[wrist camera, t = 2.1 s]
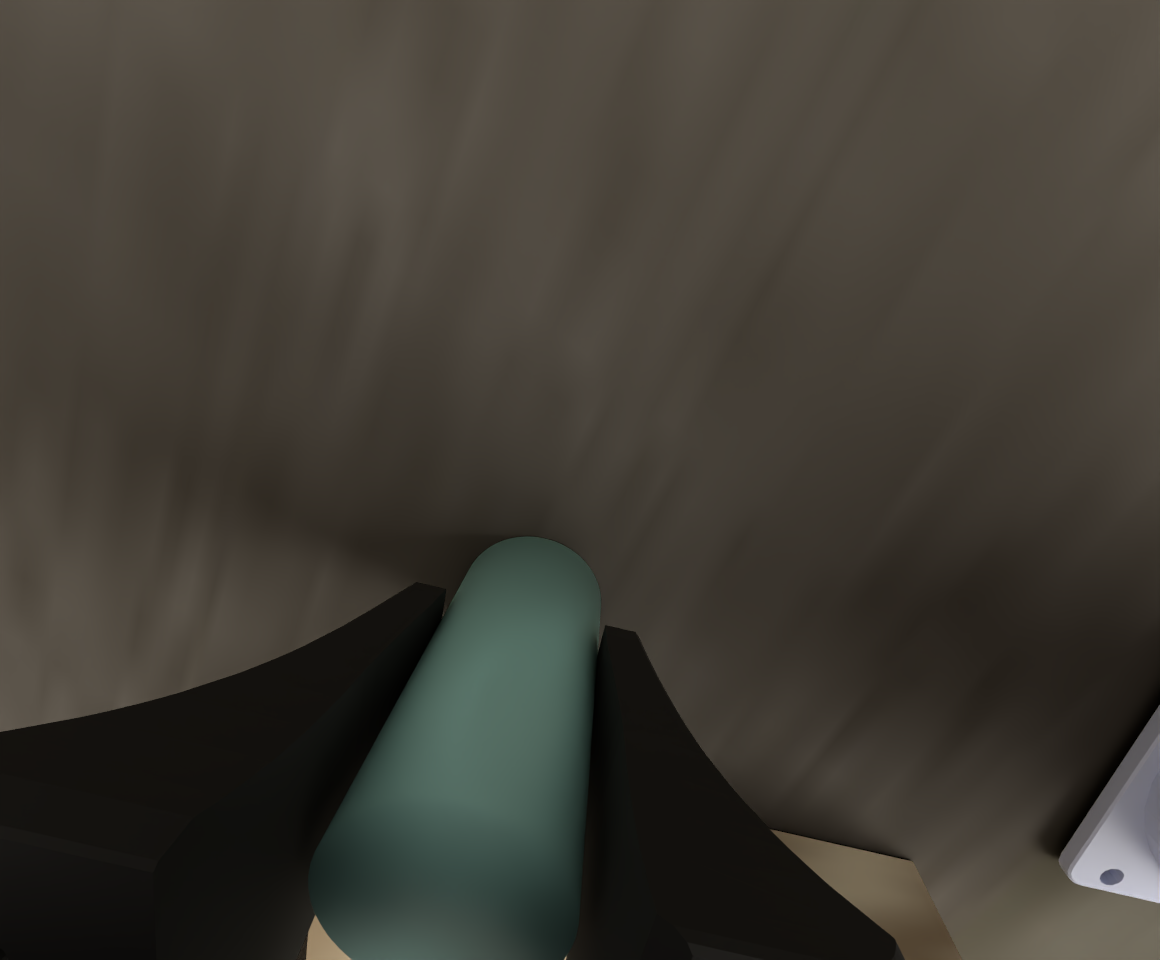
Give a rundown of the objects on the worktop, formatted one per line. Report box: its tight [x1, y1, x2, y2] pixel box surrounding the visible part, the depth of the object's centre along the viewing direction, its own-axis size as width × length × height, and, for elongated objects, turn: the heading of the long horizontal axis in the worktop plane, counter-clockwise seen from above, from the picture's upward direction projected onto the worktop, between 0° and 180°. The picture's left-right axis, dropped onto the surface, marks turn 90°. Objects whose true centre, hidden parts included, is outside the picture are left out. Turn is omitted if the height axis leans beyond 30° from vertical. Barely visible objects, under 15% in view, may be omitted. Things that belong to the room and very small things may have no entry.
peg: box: [308, 536, 601, 960], centre depth 10 cm, size 3×3×7 cm
